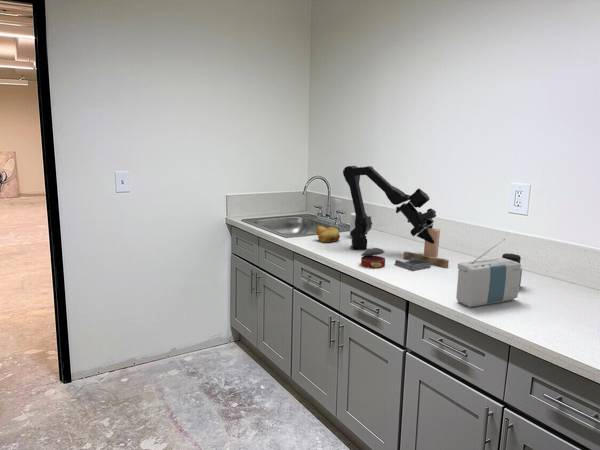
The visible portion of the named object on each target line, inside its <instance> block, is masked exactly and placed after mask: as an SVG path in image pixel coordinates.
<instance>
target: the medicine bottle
mask: <svg viewBox="0 0 600 450" xmlns="http://www.w3.org/2000/svg"><path fill="white" fill-rule="evenodd" d="M501 258H505V259H509V260H512V261H515V262H518V263H520V264H521V258H522V257H521V256H520V255H519V254H518V253H512V252H511V253H510V252H506V253H503V254H502V255H501ZM522 274H523V267H522V266H521V274H520V284H519V288H520V287H521V284H522V283H521V282H522Z"/></svg>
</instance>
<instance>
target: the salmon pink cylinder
mask: <svg viewBox="0 0 600 450" xmlns="http://www.w3.org/2000/svg"><path fill="white" fill-rule="evenodd" d="M428 232H429V234H430V236H431V237H432V239H433V240H434V243H433V244H432V243H430V242H428V241H426V240H424V244H423V246H424V247H423V248H424V249H423V255H426V256H431V257H436V258H438V256H439V245H440V235H441V229H439V228H428Z"/></svg>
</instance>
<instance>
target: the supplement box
mask: <svg viewBox="0 0 600 450" xmlns="http://www.w3.org/2000/svg"><path fill="white" fill-rule="evenodd" d="M355 218H356V214H355V212H350V220H349V221H350V222H349V223H350V224H349V229H350V230H349V238H350V239H351V240H352V237H351V234H350V232H351V231H352V230H353V229H354V228H355Z"/></svg>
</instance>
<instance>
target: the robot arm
mask: <svg viewBox="0 0 600 450" xmlns="http://www.w3.org/2000/svg"><path fill="white" fill-rule="evenodd" d="M342 175H343V177H344V180H345V182H346V183H347V185H348V187H349V190H350V196H351V199H352V204H353V208H354V213H355V214H356V218H355V228H354V229H353V230H352V231H351V232H350V231H349V235H350V234H351V237H352V239H351V245H350V246H349V247H350V248H351V249H352V250H354V251H356V250H358V251H359V250H363V251H364V250H365V251H366V250H368V248H367V247H368V239H367V235H368V233H369V232H370V231H371V230H372V225H373V222H372V217H371V215H369V216H368V215H367V213H366V209H365V204H364V200H363V197H362V191H361V186H360V180H361V176H367V178H369V179H370V180H371V181H372V182H373V183H374V184H375V185H376V186H378V188H379V189H380V190H382V191H383V192H384V194H385V196H386V198H387V199H388V201H389V202H390V203H391V204H392V205H394V206H396V207H395V209H396V210H395V213H396V214H398V213H400V212H401V213H402V214H403V216H404V217H405V218H406V219H407V223H410V224H411V225H412V226H413V227H412V228H411V230H410V235H411V236H412V237H413V238H414V237H415V236H416V237H418V238H420V239H422V240H424V241H425V240H426V241H428V242H430V243H432V244H433V243H434V240H433V239H432V237H431V236H430V234H429V232H428V228H433V227H434V222H435V220H434V218H436V217H437V214H436V213H437V211H436V210H435V209H433V208H432V207H431V208H428V209H427V210H426V212H421V211H419V210H417V208H419V209H420V208H422V207H423V206H424V205H425V204H427V202H429V201H431V199H430V196H428V194H427V192H425V191H424V190H422V189H421V188H417V189H416V190H415V192H413V193H412V194H411V195H410V194H406V193H405V192H404V191H402V190H401V189H399V188H397V187H396V186H393V185H392V184H391V183H390V182H388V181H387V179H386V178H384V177H383V176H382V175H381V174H380V173H379V172H377V170H376V169H374V167H373V166H371V165H368V166H360V167H359V166H357V165H347V166H345V167H344V168H343V170H342ZM405 202H407V203H405ZM398 205H399V206H398ZM433 229H434V228H433ZM351 237H350V238H351Z"/></svg>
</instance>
